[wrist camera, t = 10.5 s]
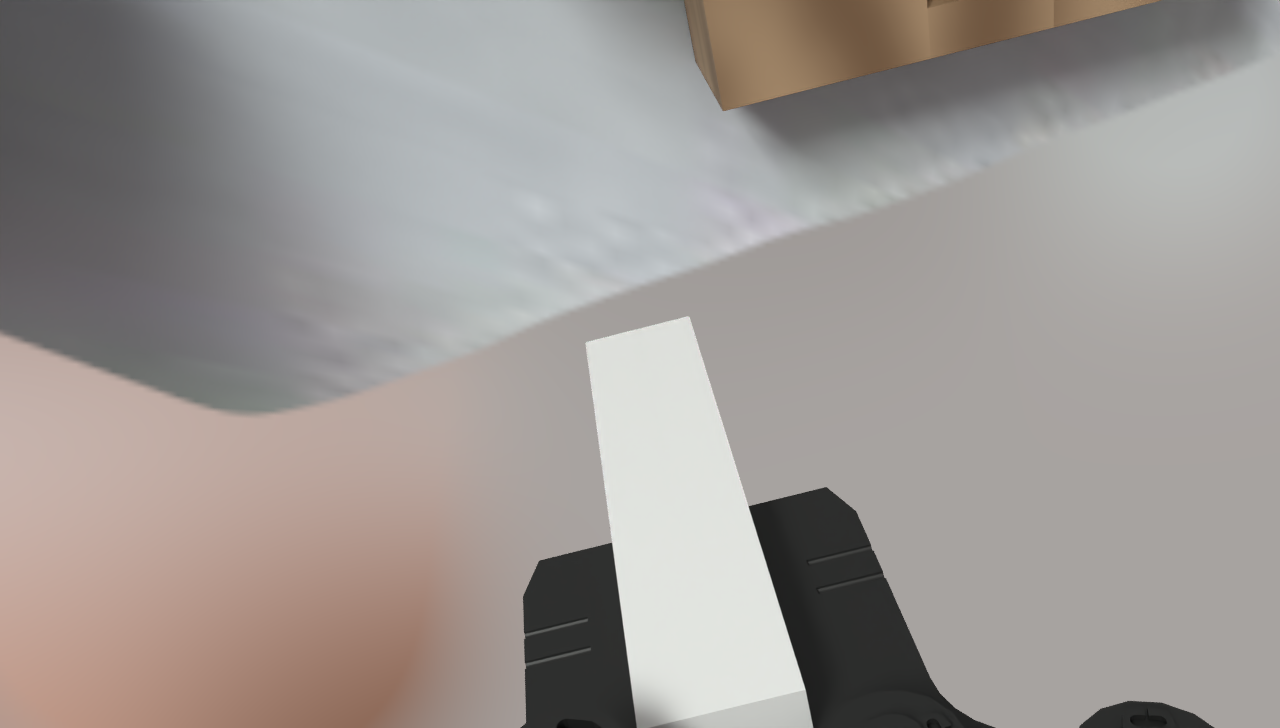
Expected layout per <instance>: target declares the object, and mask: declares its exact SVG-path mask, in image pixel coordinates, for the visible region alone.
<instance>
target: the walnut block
mask: <svg viewBox="0 0 1280 728" xmlns="http://www.w3.org/2000/svg"><path fill="white" fill-rule="evenodd" d="M1157 1H1161V0H684V3H685V8H686V14H687V19H688V24H689V29H690V35H691V40H692V45H693V50H694V56H695V61H696V63H697V65H698V67H699V69H700V70H701V72H702V74H703V76H704V78H705V79H706V81H707V83H708V85H709V87H710V88H711V90H712V92H713V94H714V96H715V97H716V99H717V101H718V103H719V105H720V107H721V108H722V110H723V111H726V110H730V109H734V108H738V107H742V106H746V105H750V104H753V103H757V102H761V101H765V100H769V99H773V98H777V97H781V96H785V95H789V94H793V93H797V92H801V91H805V90H809V89H813V88H817V87H821V86H825V85H829V84H833V83H837V82H840V81H844V80H848V79H852V78H856V77H860V76H864V75H868V74H872V73H876V72H880V71H884V70H888V69H892V68H896V67H900V66H904V65H908V64H912V63H916V62H920V61H924V60H928V59H931V58H935V57H939V56H943V55H947V54H951V53H955V52H959V51H963V50H967V49H971V48H975V47H979V46H983V45H987V44H991V43H995V42H999V41H1003V40H1007V39H1011V38H1015V37H1019V36H1022V35H1026V34H1030V33H1034V32H1038V31H1042V30H1046V29H1050V28H1054V27H1058V26H1062V25H1066V24H1070V23H1074V22H1078V21H1082V20H1086V19H1090V18H1094V17H1098V16H1102V15H1106V14H1109V13H1113V12H1117V11H1121V10H1125V9H1129V8H1133V7H1137V6H1141V5H1145V4H1149V3H1153V2H1157Z"/></svg>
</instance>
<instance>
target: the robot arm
mask: <svg viewBox="0 0 1280 728" xmlns="http://www.w3.org/2000/svg"><path fill="white" fill-rule="evenodd" d="M586 350H587V358H588V365H589V372H590V380H591V387H592V395H593V403H594V410H595V417H596V425H597V431H598V432H597V433H598V440H599V448H600V455H601V462H602V469H603V477H604V485H605V492H606V500H607V507H608V515H609V522H610V530H611V537H612V543H609V544H605V545H601V546H598V547H593V548H589V549H585V550H581V551H577V552H573V553H569V554H565V555H561V556H557V557H552V558H548V559H545V560H540V561H539V562H538V565H537V567H536V569H535V572H534V573H533V576H532V578H531V580H530V582H529V585H528V587H527V589H526V592H525V594H524V596H523V605H524V633H525V639H524V645H525V646H524V649H525V663H526V669H525V685H526V686H525V687H526V688H525V689H526V724H525V725H523V726H522V727H521V728H995V727H992V726H989V725H986V724H984V723H981V722H978V721H975V720H973V719H972V718H970V717H969V716H967V715H965V714H964V713H962V712H960V711H959V710H957V709H955V708H954V707H953V706H952V705H951V704H950V703H949V702H948V701H947V700H946V699H945V698H944V697H943V696H942V695H941V694H940V693H939V691H938V690H937V688H936V686H935V685H934V683H933V682H932V680H931V678H930V676H929V674H928V672H927V670H926V668H925V665H924V663H923V661H922V658H921V656H920V654H919V652H918V649H917V647H916V645H915V643H914V640H913V638H912V636H911V634H910V631H909V629H908V627H907V625H906V622H905V620H904V618H903V616H902V614H901V611H900V609H899V607H898V605H897V603H896V600H895V598H894V596H893V593H892V591H891V589H890V587H889V584H888V582H887V580H886V578H884V575H883V571H882V569H881V566H880V564H879V562H878V560H877V558H876V555H875V553H874V551H872V548H871V544H870V542H869V539H868V537H867V535H866V533H865V530H864V528H863V526H862V524H861V521H860V519H859V517H858V515H857V513H856V511H855V510H854V509H852V508H851V507H850V506H849V505H848V504H846V503H845V502H844V501H843V500H841V499H840V498H839V497H838V496H837V495H835V494H834V493H833V492H832V491H830V490H829V489H828V488H827V487H825V488H821V489H817V490H813V491H809V492H805V493H801V494H797V495H793V496H788V497H784V498H780V499H776V500H772V501H768V502H764V503H760V504H756V505H752V506H748V504H747V500H746V497H745V494H744V491H743V488H742V484H741V481H740V478H739V475H738V472H737V468H736V465H735V462H734V459H733V456H732V452H731V449H730V446H729V443H728V440H727V436H726V433H725V430H724V427H723V423H722V420H721V417H720V414H719V411H718V407H717V404H716V401H715V398H714V395H713V392H712V389H711V385H710V382H709V379H708V376H707V372H706V369H705V366H704V362H703V359H702V356H701V353H700V350H699V346H698V343H697V340H696V337H695V334H694V330H693V327H692V324H691V321H690V318H689V316H688V317H684V318H680V319H676V320H672V321H668V322H664V323H660V324H656V325H652V326H648V327H644V328H640V329H636V330H632V331H628V332H624V333H620V334H617V335H613V336H608V337H604V338H600V339H596V340H592V341H588V342H586ZM1079 728H1214V727H1212V726H1211V725H1209V724H1208V723H1206V722H1205V721H1204V720H1202V719H1201V718H1199V717H1198V716H1196V715H1195V714H1193V713H1190V712H1187V711H1184V710H1181V709H1178V708H1175V707H1172V706H1169V705H1166V704H1164V703H1157V702H1156V703H1155V702H1137V701H1127V702H1124V703H1120V704H1117V705H1113V706H1109V707H1106V708H1102V709H1100V710H1099V711H1097V712H1096V713H1095V714H1094V715H1093V716H1091V717H1090V718H1089V719H1088V720H1086V721H1085V722H1084V723H1083V724H1081V725H1080V727H1079Z"/></svg>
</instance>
